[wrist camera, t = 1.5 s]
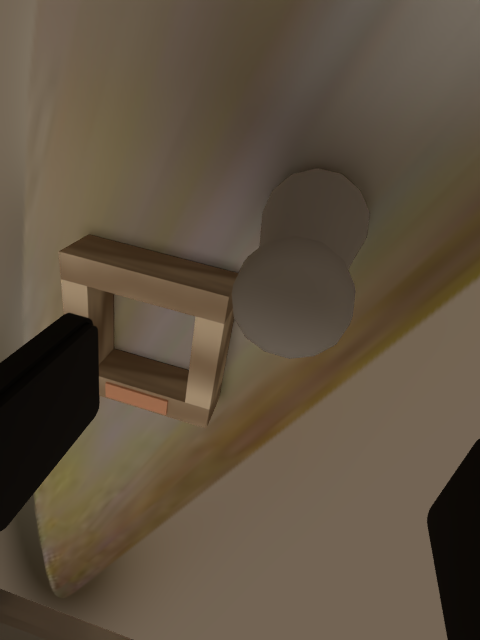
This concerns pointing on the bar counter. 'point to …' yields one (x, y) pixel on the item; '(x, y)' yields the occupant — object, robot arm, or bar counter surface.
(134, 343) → the bar counter surface
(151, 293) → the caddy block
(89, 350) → the robot arm
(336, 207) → the salt shaker
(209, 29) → the bar counter surface
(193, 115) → the bar counter surface
